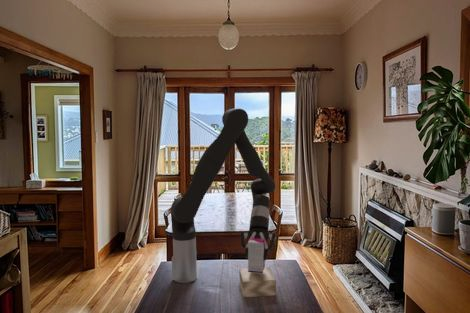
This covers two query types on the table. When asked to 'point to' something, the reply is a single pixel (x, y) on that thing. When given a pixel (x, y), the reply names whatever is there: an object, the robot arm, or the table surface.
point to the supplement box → (256, 255)
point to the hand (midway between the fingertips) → (256, 259)
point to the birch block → (257, 283)
